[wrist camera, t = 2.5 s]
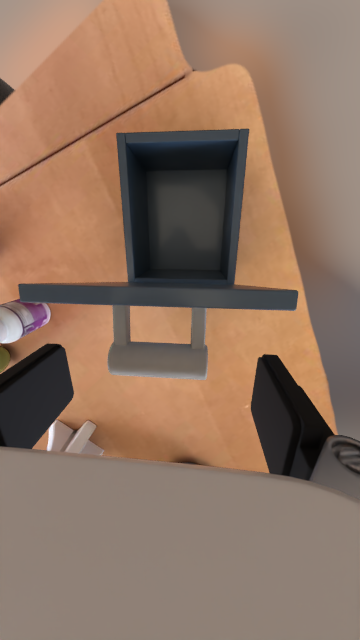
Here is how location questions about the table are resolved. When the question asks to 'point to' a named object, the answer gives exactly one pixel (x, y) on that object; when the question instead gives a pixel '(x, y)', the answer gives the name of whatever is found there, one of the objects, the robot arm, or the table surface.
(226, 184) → the storage box
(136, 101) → the table surface
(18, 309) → the pill bottle
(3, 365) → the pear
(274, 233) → the table surface
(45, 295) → the grey box lid
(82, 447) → the white mech figurine
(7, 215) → the table surface
